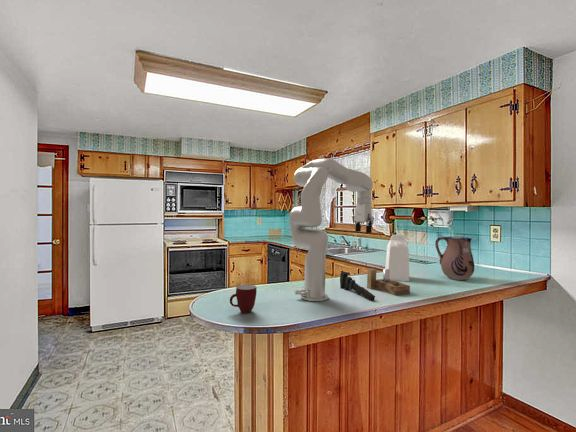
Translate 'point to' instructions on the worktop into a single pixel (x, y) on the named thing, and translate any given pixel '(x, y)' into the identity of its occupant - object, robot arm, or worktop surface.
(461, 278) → the ceramic pitcher
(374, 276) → the square bit
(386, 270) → the round bit
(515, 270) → the worktop surface
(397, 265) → the milk
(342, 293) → the worktop surface
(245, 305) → the mug
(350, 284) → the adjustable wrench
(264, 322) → the worktop surface
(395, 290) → the socket block
